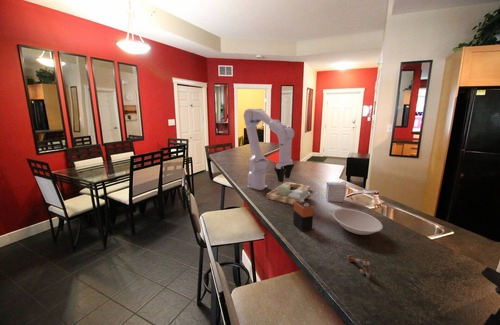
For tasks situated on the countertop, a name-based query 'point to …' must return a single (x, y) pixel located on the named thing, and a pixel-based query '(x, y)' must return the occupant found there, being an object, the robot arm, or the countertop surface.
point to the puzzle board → (275, 196)
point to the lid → (299, 194)
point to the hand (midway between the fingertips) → (284, 179)
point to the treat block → (284, 190)
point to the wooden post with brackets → (365, 263)
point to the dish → (357, 221)
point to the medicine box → (335, 192)
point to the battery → (303, 215)
